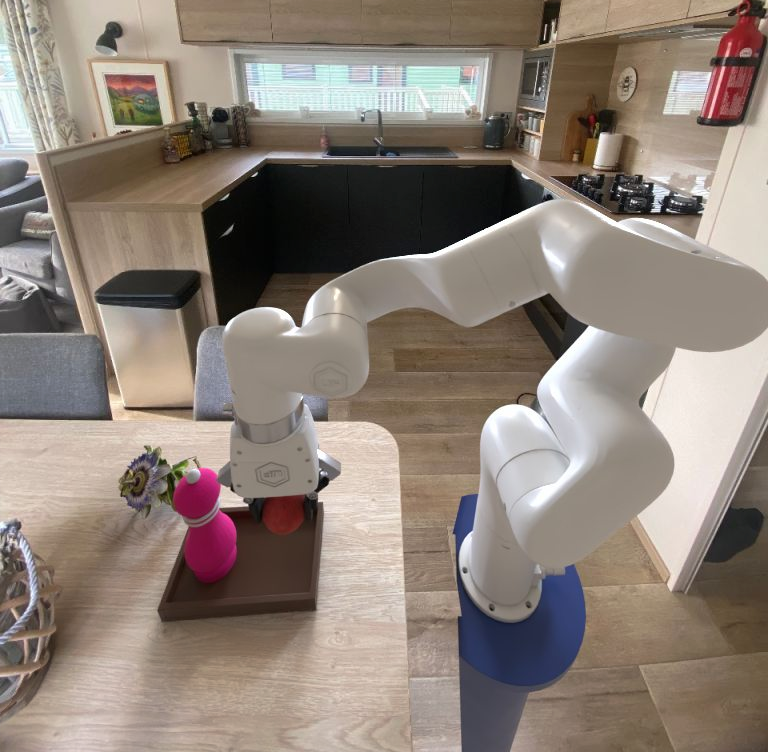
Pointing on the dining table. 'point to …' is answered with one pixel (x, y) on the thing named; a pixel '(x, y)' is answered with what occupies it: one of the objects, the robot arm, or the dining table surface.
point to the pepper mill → (205, 525)
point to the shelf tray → (251, 573)
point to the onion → (283, 513)
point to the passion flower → (151, 481)
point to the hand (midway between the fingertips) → (285, 510)
